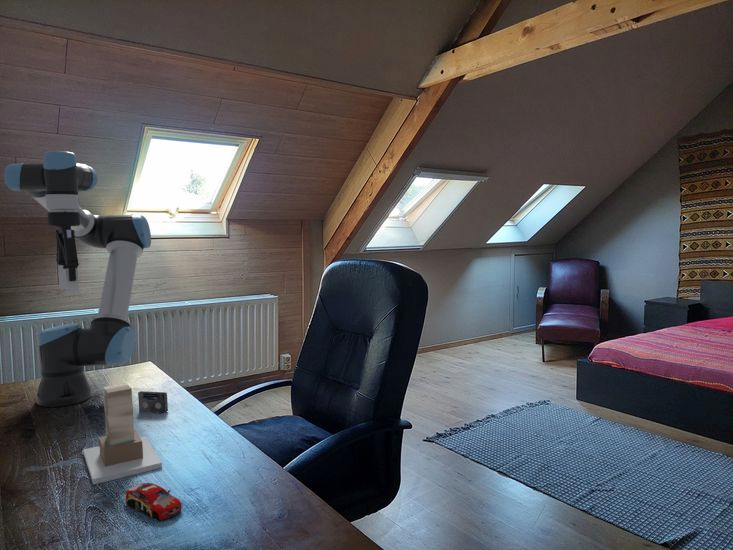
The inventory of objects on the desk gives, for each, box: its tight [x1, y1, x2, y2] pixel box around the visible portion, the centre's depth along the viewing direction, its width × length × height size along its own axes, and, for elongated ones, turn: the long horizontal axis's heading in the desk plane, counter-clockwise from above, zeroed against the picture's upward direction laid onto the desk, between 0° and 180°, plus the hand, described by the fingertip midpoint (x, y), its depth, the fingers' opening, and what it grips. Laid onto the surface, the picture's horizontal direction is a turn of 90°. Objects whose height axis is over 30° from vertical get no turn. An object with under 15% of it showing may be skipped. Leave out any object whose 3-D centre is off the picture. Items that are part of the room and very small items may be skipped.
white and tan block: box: [82, 429, 163, 485], centre depth 127 cm, size 18×14×5 cm
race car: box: [125, 482, 182, 522], centre depth 106 cm, size 13×5×4 cm, turn 54°
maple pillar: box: [102, 383, 135, 444], centre depth 126 cm, size 5×5×12 cm
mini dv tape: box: [137, 390, 169, 414], centre depth 159 cm, size 8×2×6 cm, turn 80°
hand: (69, 291), depth 147 cm, fingers open, 13 cm apart
